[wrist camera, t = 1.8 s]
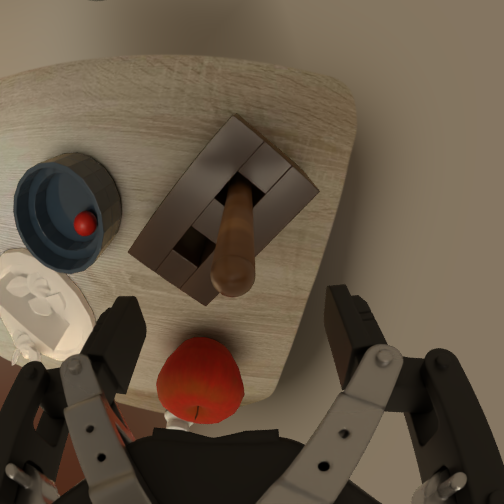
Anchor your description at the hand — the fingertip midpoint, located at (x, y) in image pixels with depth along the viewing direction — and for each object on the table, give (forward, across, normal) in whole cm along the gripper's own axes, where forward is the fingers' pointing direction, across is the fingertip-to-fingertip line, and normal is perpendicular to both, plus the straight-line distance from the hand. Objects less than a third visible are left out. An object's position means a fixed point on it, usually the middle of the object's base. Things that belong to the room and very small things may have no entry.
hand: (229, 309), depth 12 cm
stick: (+13, 0, 0) cm, 13 cm away
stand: (+24, +2, +2) cm, 24 cm away
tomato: (+21, +20, +3) cm, 29 cm away
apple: (+24, +8, +26) cm, 36 cm away
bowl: (+24, +22, +1) cm, 32 cm away
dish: (+24, +38, +19) cm, 49 cm away
